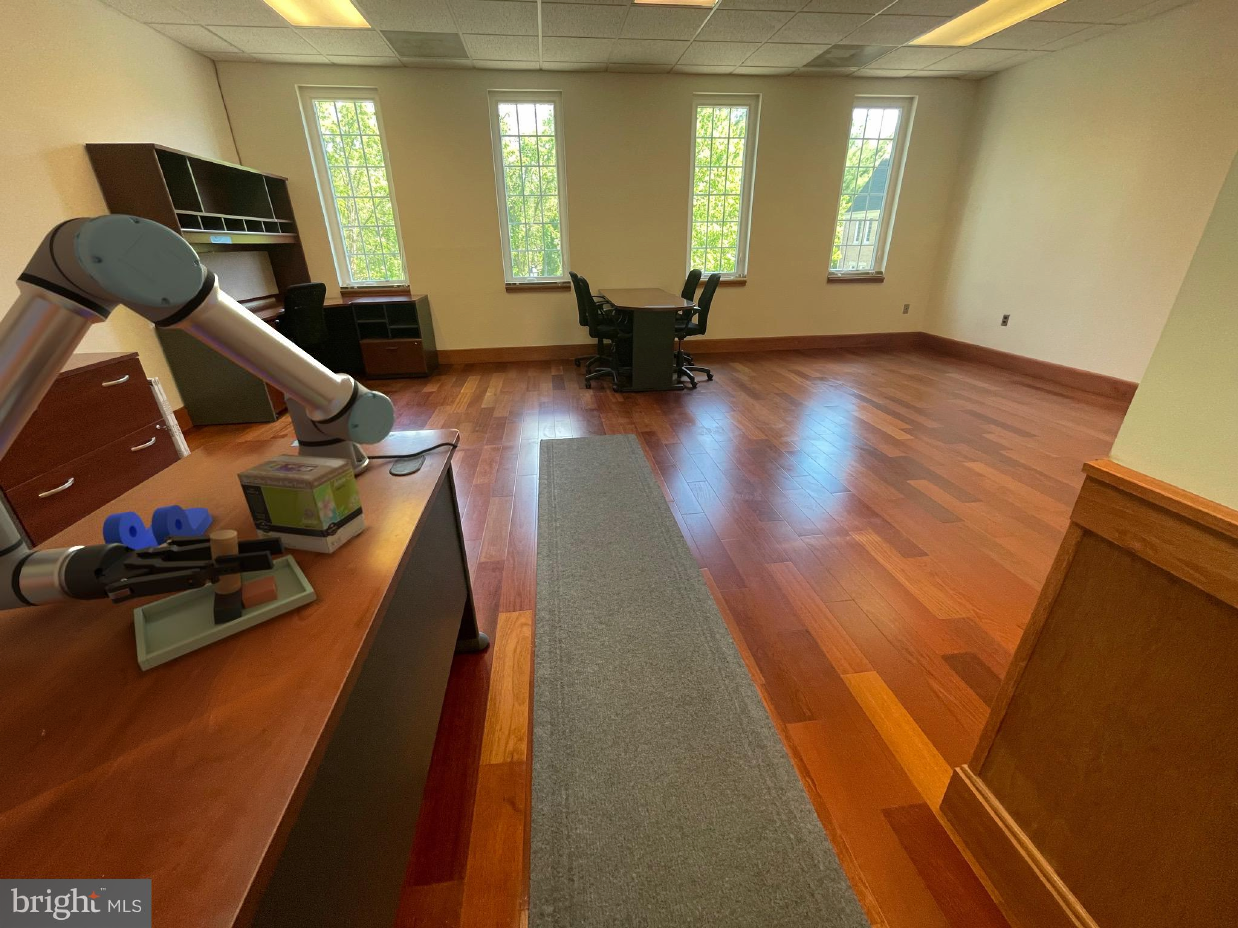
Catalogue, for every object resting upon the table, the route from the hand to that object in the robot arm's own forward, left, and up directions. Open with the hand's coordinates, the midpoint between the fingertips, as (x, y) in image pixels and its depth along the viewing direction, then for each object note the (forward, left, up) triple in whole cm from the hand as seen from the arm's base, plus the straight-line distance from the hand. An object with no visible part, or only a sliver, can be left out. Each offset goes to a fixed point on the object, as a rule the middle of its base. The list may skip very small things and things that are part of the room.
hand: (276, 552), depth 70 cm
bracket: (+11, -34, -9) cm, 37 cm away
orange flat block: (+3, -3, -8) cm, 9 cm away
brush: (+7, -4, -7) cm, 11 cm away
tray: (+7, -3, -8) cm, 11 cm away
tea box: (-8, -17, -9) cm, 21 cm away
